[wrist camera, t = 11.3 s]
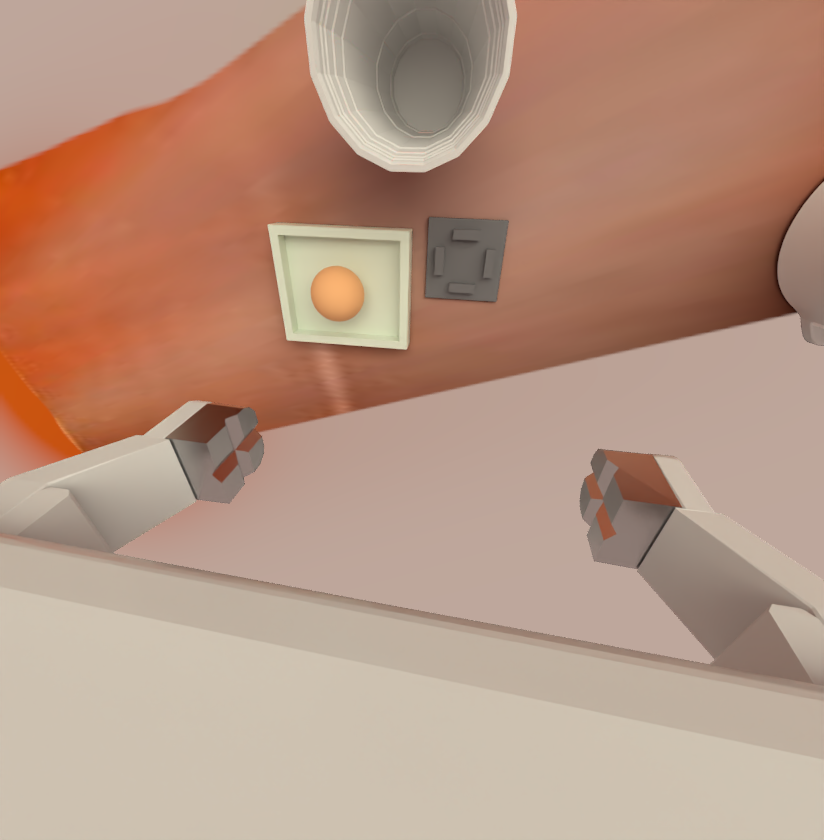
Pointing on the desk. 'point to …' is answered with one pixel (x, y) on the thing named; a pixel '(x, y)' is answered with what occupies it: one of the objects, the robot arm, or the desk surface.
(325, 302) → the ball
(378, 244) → the tray
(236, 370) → the desk surface
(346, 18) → the plastic cup
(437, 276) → the coaster
